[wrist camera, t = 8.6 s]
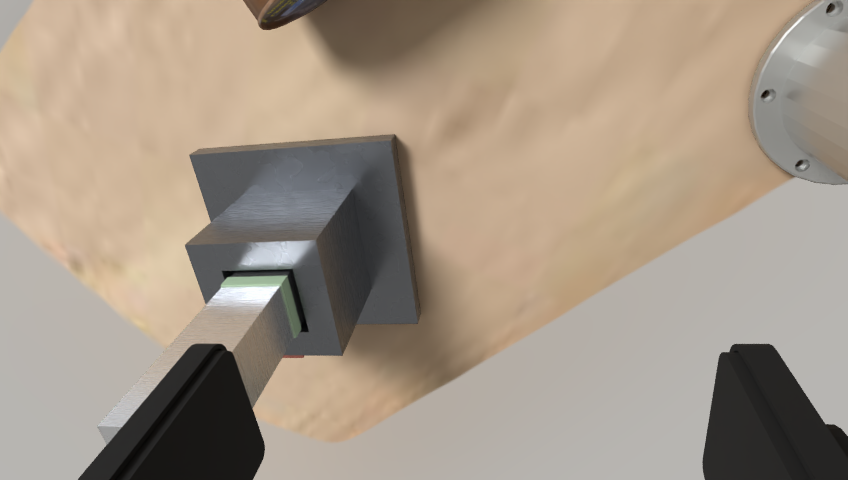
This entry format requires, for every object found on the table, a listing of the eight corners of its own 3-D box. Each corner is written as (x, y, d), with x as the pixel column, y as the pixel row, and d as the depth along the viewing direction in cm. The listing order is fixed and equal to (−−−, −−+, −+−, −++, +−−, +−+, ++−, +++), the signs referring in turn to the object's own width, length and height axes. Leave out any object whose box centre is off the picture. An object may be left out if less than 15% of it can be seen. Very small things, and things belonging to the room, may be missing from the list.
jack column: (304, 251, 38) (177, 427, 24) (316, 302, 39) (206, 492, 25) (248, 253, 38) (94, 424, 24) (263, 303, 40) (128, 488, 26)
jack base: (394, 134, 40) (360, 184, 31) (420, 313, 47) (398, 394, 38) (199, 148, 43) (117, 197, 34) (251, 315, 50) (195, 390, 41)
